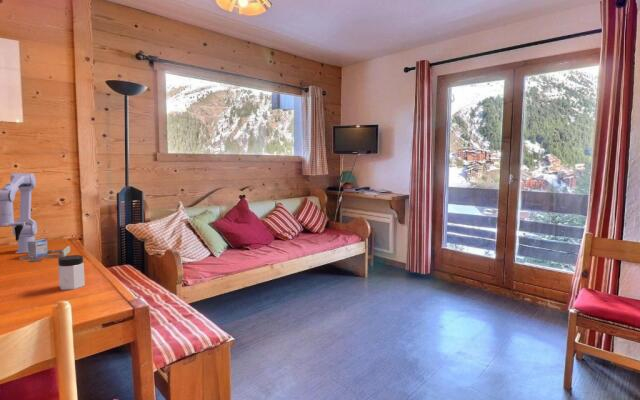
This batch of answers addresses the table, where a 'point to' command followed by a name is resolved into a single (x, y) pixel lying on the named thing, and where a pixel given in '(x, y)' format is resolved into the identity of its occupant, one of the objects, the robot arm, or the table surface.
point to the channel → (64, 253)
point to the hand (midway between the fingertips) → (7, 240)
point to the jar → (71, 272)
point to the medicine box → (37, 248)
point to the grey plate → (43, 258)
